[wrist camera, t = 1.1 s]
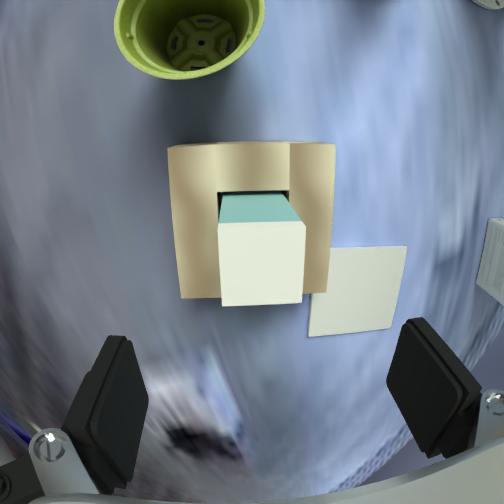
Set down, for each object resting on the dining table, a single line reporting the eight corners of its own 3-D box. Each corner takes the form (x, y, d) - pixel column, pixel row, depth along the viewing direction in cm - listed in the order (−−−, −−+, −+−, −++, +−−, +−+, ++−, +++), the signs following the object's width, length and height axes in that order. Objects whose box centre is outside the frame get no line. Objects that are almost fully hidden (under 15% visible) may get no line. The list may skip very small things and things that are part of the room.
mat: (404, 245, 30) (407, 247, 30) (388, 325, 34) (390, 327, 33) (314, 248, 30) (315, 250, 29) (307, 333, 34) (308, 336, 33)
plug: (275, 184, 27) (306, 226, 16) (275, 233, 28) (301, 302, 17) (224, 186, 27) (217, 229, 15) (226, 234, 28) (222, 306, 17)
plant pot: (142, 95, 24) (104, 83, 16) (154, 1, 20) (126, -40, 12) (250, 97, 24) (258, 82, 16) (259, 2, 21) (270, -43, 13)
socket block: (318, 141, 26) (335, 145, 21) (313, 267, 30) (326, 292, 26) (179, 144, 25) (167, 147, 21) (189, 272, 30) (181, 298, 25)
